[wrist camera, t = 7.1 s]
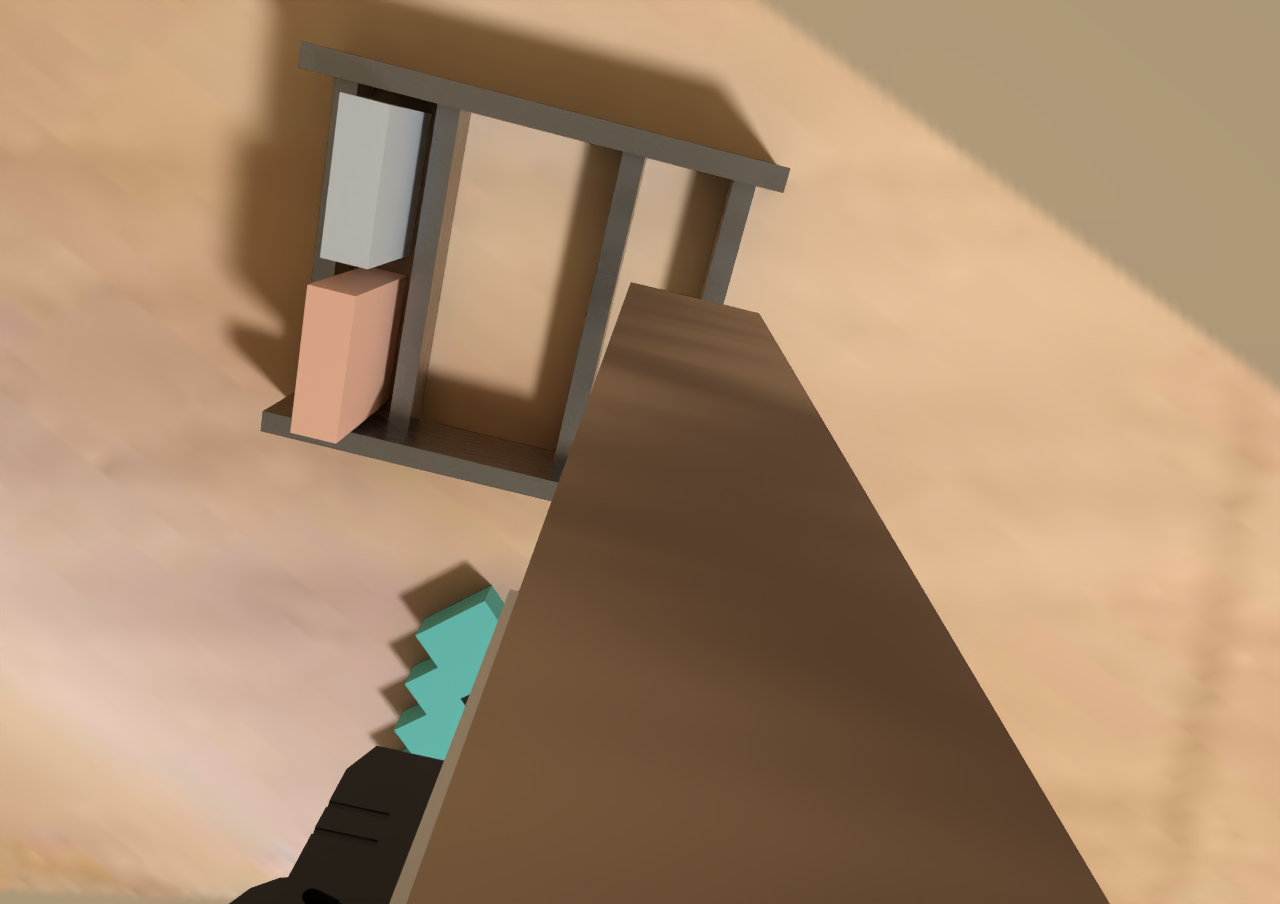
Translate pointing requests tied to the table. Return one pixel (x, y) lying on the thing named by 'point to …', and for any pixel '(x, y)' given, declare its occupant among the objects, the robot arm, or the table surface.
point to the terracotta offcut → (346, 351)
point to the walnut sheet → (730, 671)
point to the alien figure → (447, 671)
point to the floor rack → (402, 428)
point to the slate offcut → (373, 181)
